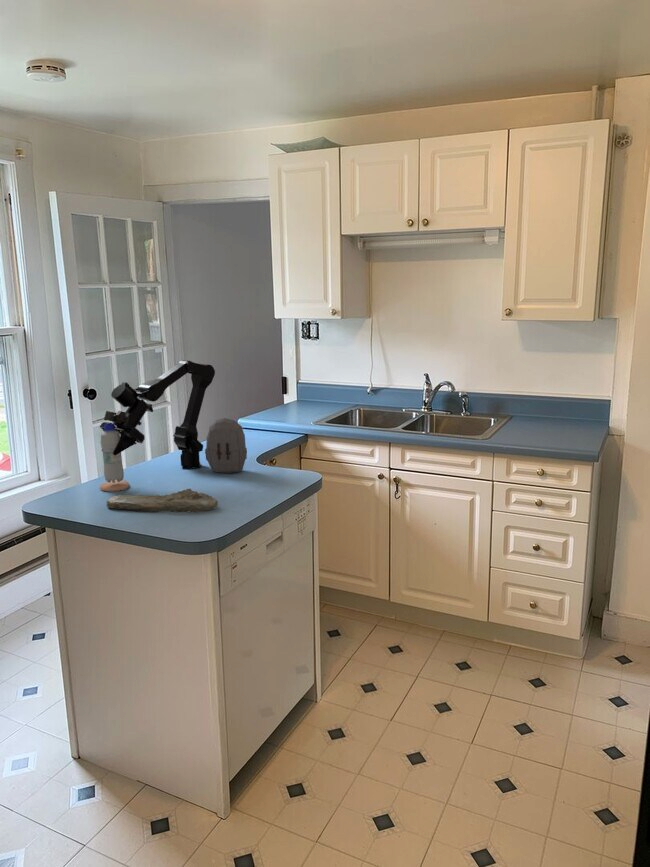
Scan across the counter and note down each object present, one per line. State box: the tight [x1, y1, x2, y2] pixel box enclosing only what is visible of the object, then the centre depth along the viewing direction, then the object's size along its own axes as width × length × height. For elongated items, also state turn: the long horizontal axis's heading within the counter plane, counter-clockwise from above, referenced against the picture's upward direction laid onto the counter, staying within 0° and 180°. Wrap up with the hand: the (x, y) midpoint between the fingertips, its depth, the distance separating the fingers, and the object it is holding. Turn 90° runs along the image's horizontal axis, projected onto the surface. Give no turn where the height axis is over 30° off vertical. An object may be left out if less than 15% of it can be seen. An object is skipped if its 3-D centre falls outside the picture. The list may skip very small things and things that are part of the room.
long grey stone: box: [106, 488, 219, 513], centre depth 207 cm, size 35×5×10 cm
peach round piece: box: [99, 480, 130, 492], centre depth 228 cm, size 10×10×1 cm
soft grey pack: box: [204, 417, 248, 474], centre depth 242 cm, size 15×8×20 cm, turn 84°
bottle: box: [100, 422, 125, 483], centre depth 226 cm, size 7×7×20 cm
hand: (108, 453), depth 225 cm, fingers closed on bottle, 6 cm apart
